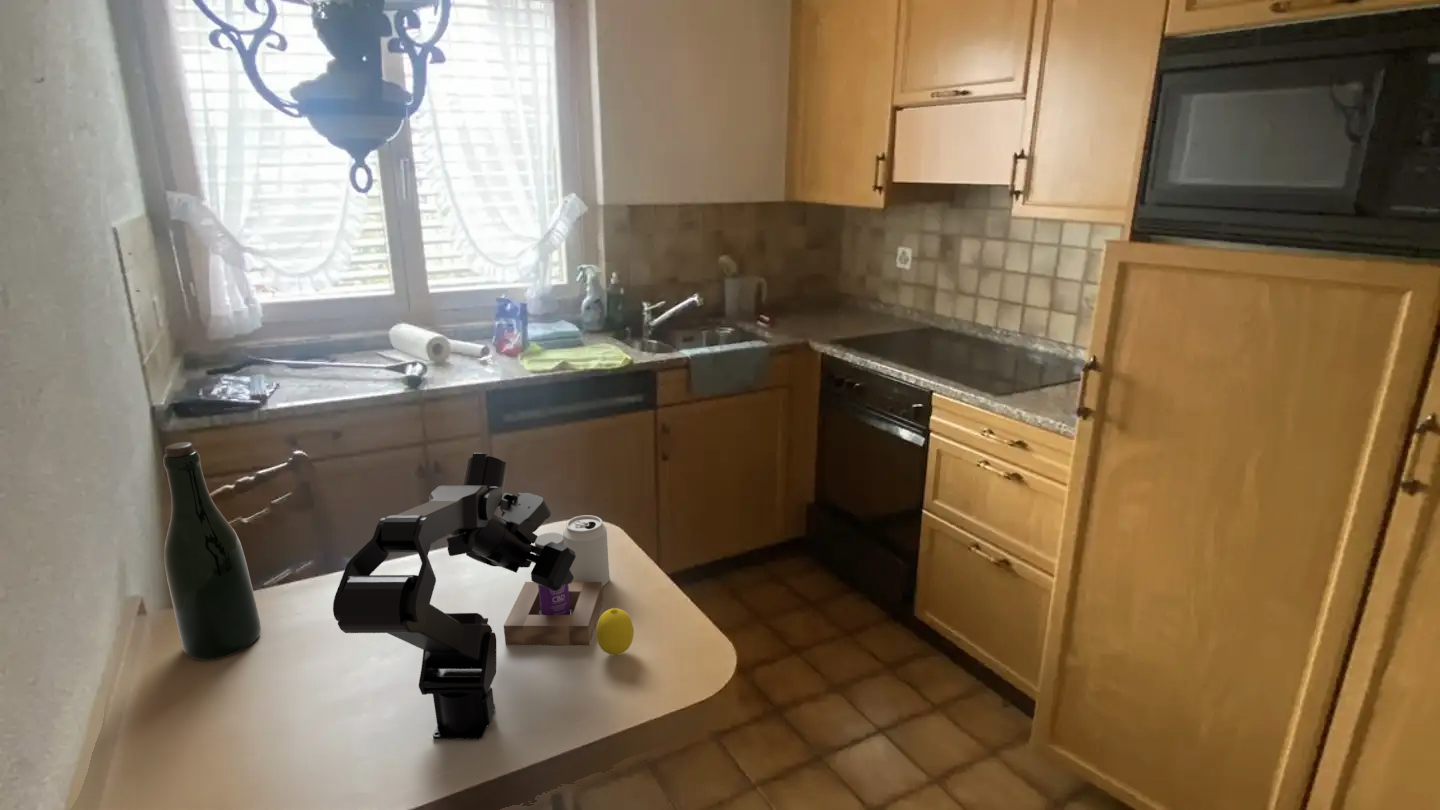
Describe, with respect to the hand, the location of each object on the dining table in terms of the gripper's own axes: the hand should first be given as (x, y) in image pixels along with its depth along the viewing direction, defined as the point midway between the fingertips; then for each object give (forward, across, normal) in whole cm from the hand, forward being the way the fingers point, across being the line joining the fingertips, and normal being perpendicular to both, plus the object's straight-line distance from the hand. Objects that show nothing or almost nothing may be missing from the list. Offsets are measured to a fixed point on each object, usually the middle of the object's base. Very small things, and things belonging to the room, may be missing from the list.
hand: (550, 571), depth 124 cm
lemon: (+6, -14, +8) cm, 17 cm away
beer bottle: (-16, +40, +29) cm, 52 cm away
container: (+7, 0, +6) cm, 10 cm away
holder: (+7, 0, +6) cm, 9 cm away
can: (+16, +4, -2) cm, 16 cm away
